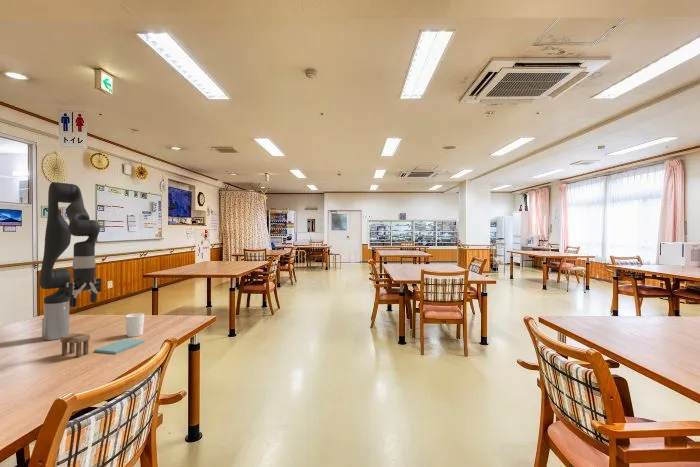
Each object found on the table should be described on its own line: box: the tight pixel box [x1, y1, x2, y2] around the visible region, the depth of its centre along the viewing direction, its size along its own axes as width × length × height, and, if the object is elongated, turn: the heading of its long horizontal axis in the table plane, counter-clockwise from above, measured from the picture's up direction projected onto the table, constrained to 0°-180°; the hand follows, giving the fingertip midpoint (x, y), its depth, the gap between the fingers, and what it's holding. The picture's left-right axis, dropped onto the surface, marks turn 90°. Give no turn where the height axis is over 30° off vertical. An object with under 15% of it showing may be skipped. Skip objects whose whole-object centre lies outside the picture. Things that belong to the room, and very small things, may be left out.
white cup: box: [125, 312, 145, 338], centre depth 165 cm, size 8×8×10 cm
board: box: [93, 338, 145, 355], centre depth 148 cm, size 11×15×1 cm
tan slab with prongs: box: [59, 332, 91, 359], centre depth 138 cm, size 9×5×8 cm, turn 79°
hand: (83, 304), depth 140 cm, fingers open, 8 cm apart
